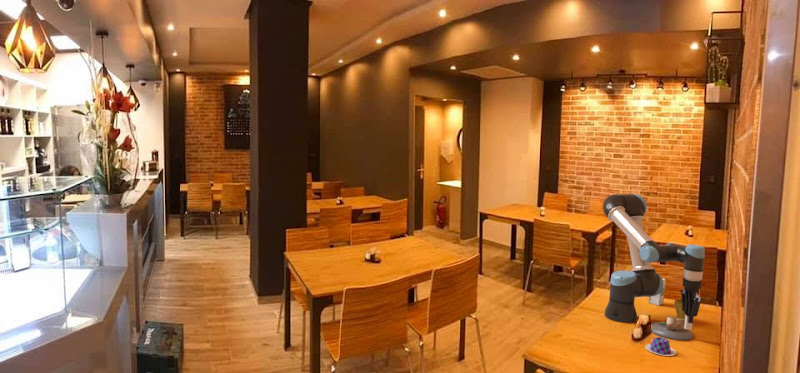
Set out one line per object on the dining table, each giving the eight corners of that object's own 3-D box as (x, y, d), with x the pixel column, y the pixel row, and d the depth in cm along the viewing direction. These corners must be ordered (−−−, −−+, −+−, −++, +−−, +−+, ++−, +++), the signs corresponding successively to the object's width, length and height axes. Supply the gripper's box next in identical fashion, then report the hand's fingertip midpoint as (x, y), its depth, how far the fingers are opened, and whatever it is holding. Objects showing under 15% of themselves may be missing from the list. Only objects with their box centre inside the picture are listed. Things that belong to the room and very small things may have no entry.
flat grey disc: (662, 340, 221) (662, 336, 221) (642, 325, 239) (642, 321, 239) (701, 341, 221) (701, 336, 221) (678, 325, 239) (678, 321, 239)
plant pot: (676, 322, 243) (678, 303, 243) (670, 315, 253) (671, 297, 253) (699, 325, 241) (701, 306, 240) (692, 317, 251) (694, 299, 250)
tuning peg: (669, 330, 228) (670, 319, 227) (664, 326, 232) (665, 316, 231) (689, 330, 228) (690, 320, 228) (684, 327, 232) (685, 317, 231)
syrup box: (652, 301, 276) (654, 276, 275) (663, 304, 272) (665, 278, 270) (648, 303, 273) (650, 277, 271) (659, 306, 268) (661, 280, 267)
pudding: (646, 343, 218) (647, 331, 218) (677, 350, 211) (678, 338, 211) (642, 352, 208) (643, 340, 208) (674, 360, 202) (675, 347, 201)
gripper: (709, 283, 215) (705, 334, 218) (691, 275, 228) (687, 323, 231) (693, 283, 215) (688, 334, 218) (676, 274, 228) (671, 323, 230)
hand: (688, 328), depth 224 cm, fingers closed
